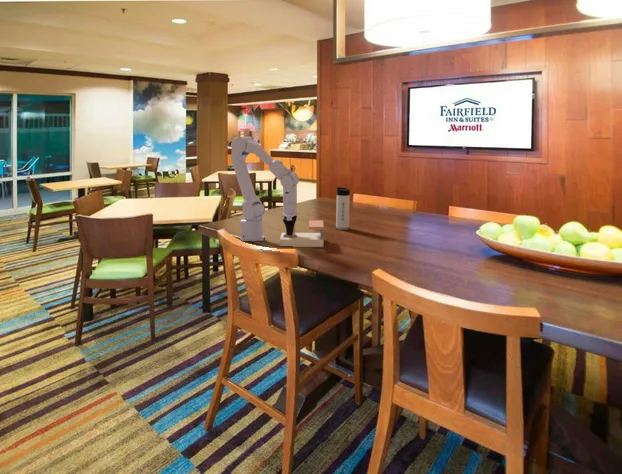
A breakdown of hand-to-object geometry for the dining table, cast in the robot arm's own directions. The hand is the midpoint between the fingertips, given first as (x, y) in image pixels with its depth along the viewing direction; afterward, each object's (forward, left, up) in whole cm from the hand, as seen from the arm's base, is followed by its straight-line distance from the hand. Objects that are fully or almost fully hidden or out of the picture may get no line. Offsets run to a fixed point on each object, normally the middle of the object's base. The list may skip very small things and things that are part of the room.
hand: (290, 233), depth 181 cm
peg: (0, 0, -3) cm, 3 cm away
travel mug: (+24, +28, -4) cm, 37 cm away
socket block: (+5, 0, -4) cm, 6 cm away
